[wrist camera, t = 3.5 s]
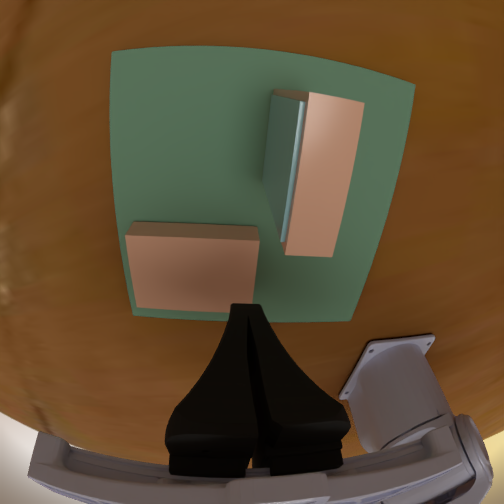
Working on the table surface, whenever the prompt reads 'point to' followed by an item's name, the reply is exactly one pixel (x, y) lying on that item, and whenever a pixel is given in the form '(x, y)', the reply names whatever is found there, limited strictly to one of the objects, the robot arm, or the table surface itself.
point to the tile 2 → (309, 167)
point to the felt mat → (248, 163)
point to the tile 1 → (192, 265)
